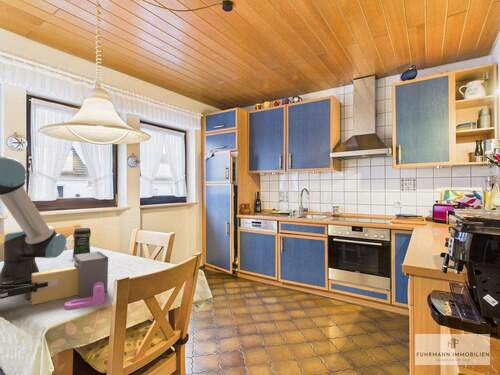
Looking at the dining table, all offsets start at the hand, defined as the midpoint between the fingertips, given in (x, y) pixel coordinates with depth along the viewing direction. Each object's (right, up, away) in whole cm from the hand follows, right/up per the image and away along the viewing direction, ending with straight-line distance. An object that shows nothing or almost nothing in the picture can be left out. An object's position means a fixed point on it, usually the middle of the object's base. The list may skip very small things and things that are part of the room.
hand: (56, 280), depth 109 cm
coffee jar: (-31, -7, +66) cm, 73 cm away
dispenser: (+9, -7, +8) cm, 14 cm away
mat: (-7, -7, +8) cm, 12 cm away
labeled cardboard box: (0, -7, 0) cm, 7 cm away
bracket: (+15, -8, -5) cm, 17 cm away
